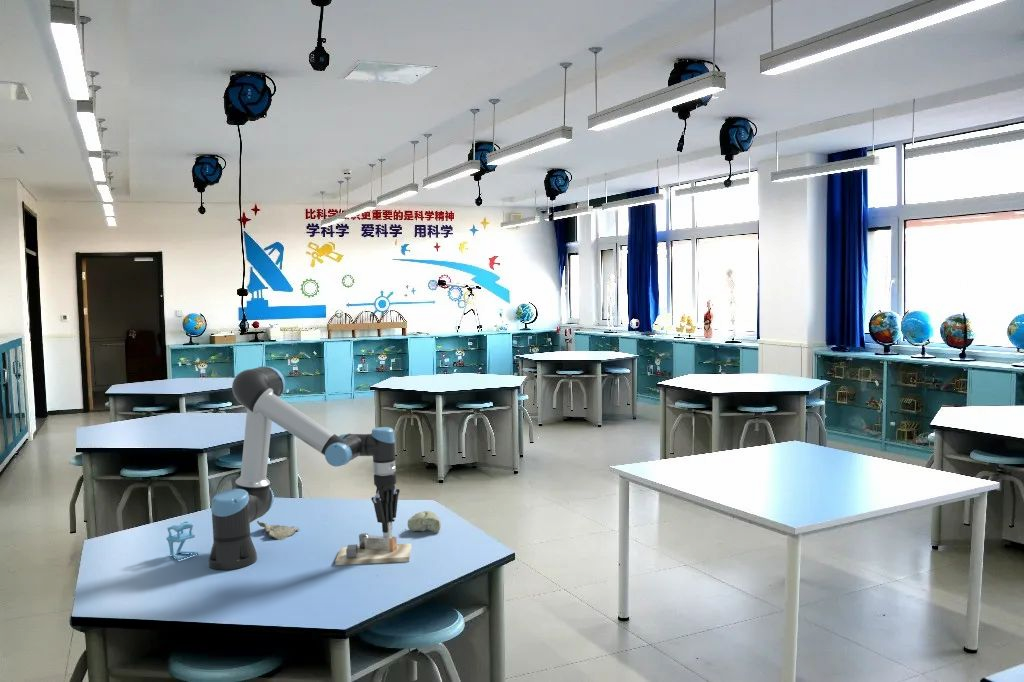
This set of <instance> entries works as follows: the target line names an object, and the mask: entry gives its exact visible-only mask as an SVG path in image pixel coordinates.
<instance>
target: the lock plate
mask: <svg viewBox="0 0 1024 682" xmlns="http://www.w3.org/2000/svg"><path fill="white" fill-rule="evenodd" d="M357 546H358V554H357V556H356V558H350V559H347V556H346V549H347V547H348V546H341V547H340V550H339V551H338V554H337V555H336V558H335V560H334V563H335V564H334V565H335V566H345V565H346V566H347V565H365V564H367V565H368V564H383V563H385V564H388V563H405V562H406V563H407V562H410V558H411V553H412V543H397V549H396V550H395V551H393V552H392V551H383V550H373V549H360V548H359V545H357Z"/></svg>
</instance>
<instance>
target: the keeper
mask: <svg viewBox="0 0 1024 682" xmlns="http://www.w3.org/2000/svg"><path fill="white" fill-rule="evenodd" d="M358 546H359V545H358V544H348V545H347V546H346V547H347V549H346V556H347V559H350V558H356V556H357V554H358Z"/></svg>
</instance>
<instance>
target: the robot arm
mask: <svg viewBox="0 0 1024 682" xmlns="http://www.w3.org/2000/svg"><path fill="white" fill-rule="evenodd" d="M285 388H286V381H285V377H284V375H283V374H282V373H281V371H280V370H279V369H277V368H275V367H272V366H258V367H255V368H250V369H249V368H248V369H245V370H242V371H241V372H239V373H238V374H236V376H234V379H233V381H232V385H231V391H232V394H233V397H234V398H235V399H236V401H237V402H238V403H239V404H241V406H243V407H244V408H245V409H246V418H245V428H244V439H243V449H242V457H241V458H242V460H241V468H240V469H241V470H240V476H239V477H238V478H237V479H236V480H235V481H234V482H235V485H234V488H232V489H226V490H222V491H220V492H219V493H217V494H215V495H214V496H213V497H212V499H211V506H210V507H211V508H210V509H211V510H210V511H211V520H212V521H211V522H212V537H213V540H212V541H213V542H212V547H211V550H210V552H209V553H210V554H209V557H208V566H210V567H211V569H214V570H217V569H218V570H219V571H221V570H222V571H228V570H230V571H231V570H234V569H235V570H236V569H240V568H246V567H248V566H250V565H253V564H254V563H256V562H257V560H258V553H257V551H256V547H255V545H254V543H253V541H252V538H251V523H252V522H254V521H256V520H257V519H260V518H261V517H263V516H264V515H265V514H267V513H268V512H269V510H271V509H272V506H273V504H274V498H275V497H274V491H273V490H272V488H271V481H270V480H269V478H268V477H267V475H268V474H267V473H268V472H267V471H268V465H269V464H268V461H269V455H270V454H269V453H270V442H271V431H272V423H274V424H276V425H277V426H279V427H280V428H282V429H283V430H285V431H287V432H288V433H290V434H291V435H293V436H294V437H296V438H298V439H299V440H301V442H304V443H305V444H307V445H308V446H309V447H311V448H313V449H314V450H316V451H317V452H318V453H320V454H321V455H323V456H324V459H325V460H326V462H327V464H329V465H330V466H332V467H335V468H336V467H341V466H345V465H347V464H349V462H350V461H353V460H354V459H356V458H357V457H372V466H373V467H372V469H373V470H372V471H373V484H374V486H375V487H376V491H375V496H371V501H372V504H373V508H374V512H375V516H376V520H377V523H379V524H381V525H382V526H381V529H382V536H385V537H393V523H394V522H395V521H396V517H397V510H398V501H399V494H400V490H401V489H398V488H396V484H397V473H396V471H397V470H396V469H397V468H396V440H395V433H394V432H395V431H394V429H393V428H392V427H389V426H383V427H382V426H381V427H380V426H378V427H374V428H373V429H371V433H346V434H345V433H344V434H343V433H342V434H340V435H336V434H335V433H334V432H333V431H331V430H330V429H329V428H326V427H325V426H323V425H322V424H320V423H319V422H317V421H316V420H315V419H313V418H311V417H309V416H308V415H307V414H305V413H304V412H302V411H300V410H299V409H297V408H296V407H294V406H293V405H291V404H290V403H289V402H287V401H286V400H284V399H282V398H281V395H282V394H283V393H284V391H285ZM210 567H209V568H210Z"/></svg>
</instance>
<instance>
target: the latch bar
mask: <svg viewBox="0 0 1024 682" xmlns="http://www.w3.org/2000/svg"><path fill="white" fill-rule="evenodd" d="M397 541H398V540H397V536H392V537H385V536H383V535H372V534H369V533H363V532H362V533H360V534H359V535H358V542H359V544H358V546H359V548H360V549H373V550H383V551H392V552H393V551H395V550H396V549H397V544H398V543H397Z"/></svg>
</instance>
